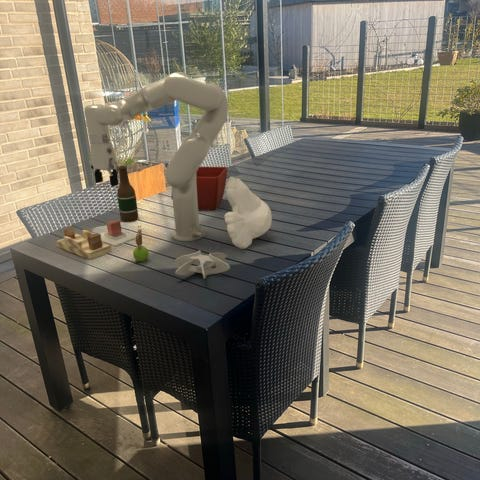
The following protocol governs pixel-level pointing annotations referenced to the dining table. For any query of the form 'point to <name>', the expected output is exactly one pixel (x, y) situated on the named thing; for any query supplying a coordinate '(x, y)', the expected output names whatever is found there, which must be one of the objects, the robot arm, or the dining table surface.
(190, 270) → the sculpture
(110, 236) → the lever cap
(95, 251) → the body
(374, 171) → the dining table surface
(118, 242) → the mat
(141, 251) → the snail figurine
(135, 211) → the beer bottle
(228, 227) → the white bear figurine
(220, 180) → the plant pot
